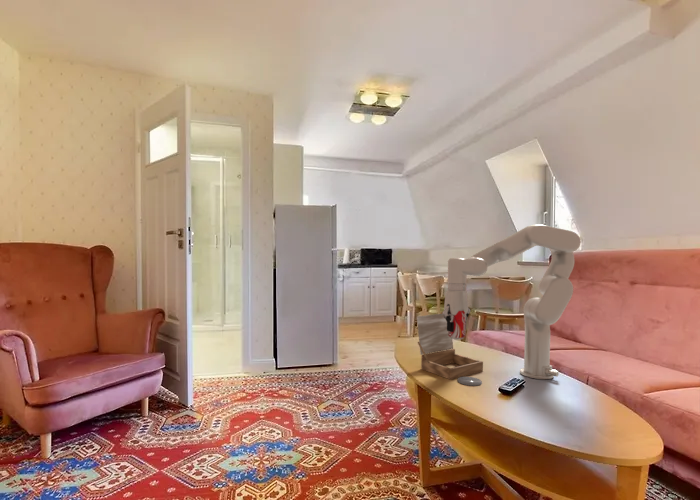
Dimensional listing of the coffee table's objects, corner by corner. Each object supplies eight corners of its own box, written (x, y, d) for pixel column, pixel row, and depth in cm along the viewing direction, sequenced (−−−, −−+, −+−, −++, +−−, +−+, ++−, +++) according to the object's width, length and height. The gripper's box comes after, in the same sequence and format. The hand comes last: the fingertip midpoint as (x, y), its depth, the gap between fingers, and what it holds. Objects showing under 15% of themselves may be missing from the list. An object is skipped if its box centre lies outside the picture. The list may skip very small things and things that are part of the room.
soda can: (461, 340, 165) (461, 311, 165) (445, 338, 170) (445, 309, 170) (468, 337, 171) (468, 309, 171) (452, 335, 175) (452, 307, 175)
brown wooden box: (482, 371, 172) (483, 319, 171) (448, 379, 160) (449, 324, 159) (447, 360, 188) (448, 312, 187) (413, 367, 175) (414, 316, 175)
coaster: (486, 383, 156) (486, 381, 156) (471, 387, 151) (471, 385, 151) (467, 376, 164) (467, 375, 164) (452, 380, 159) (452, 379, 159)
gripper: (464, 285, 178) (463, 326, 178) (435, 287, 168) (435, 331, 168) (478, 287, 172) (477, 329, 172) (449, 289, 162) (448, 334, 162)
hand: (456, 329), depth 170 cm, fingers closed on soda can, 6 cm apart
